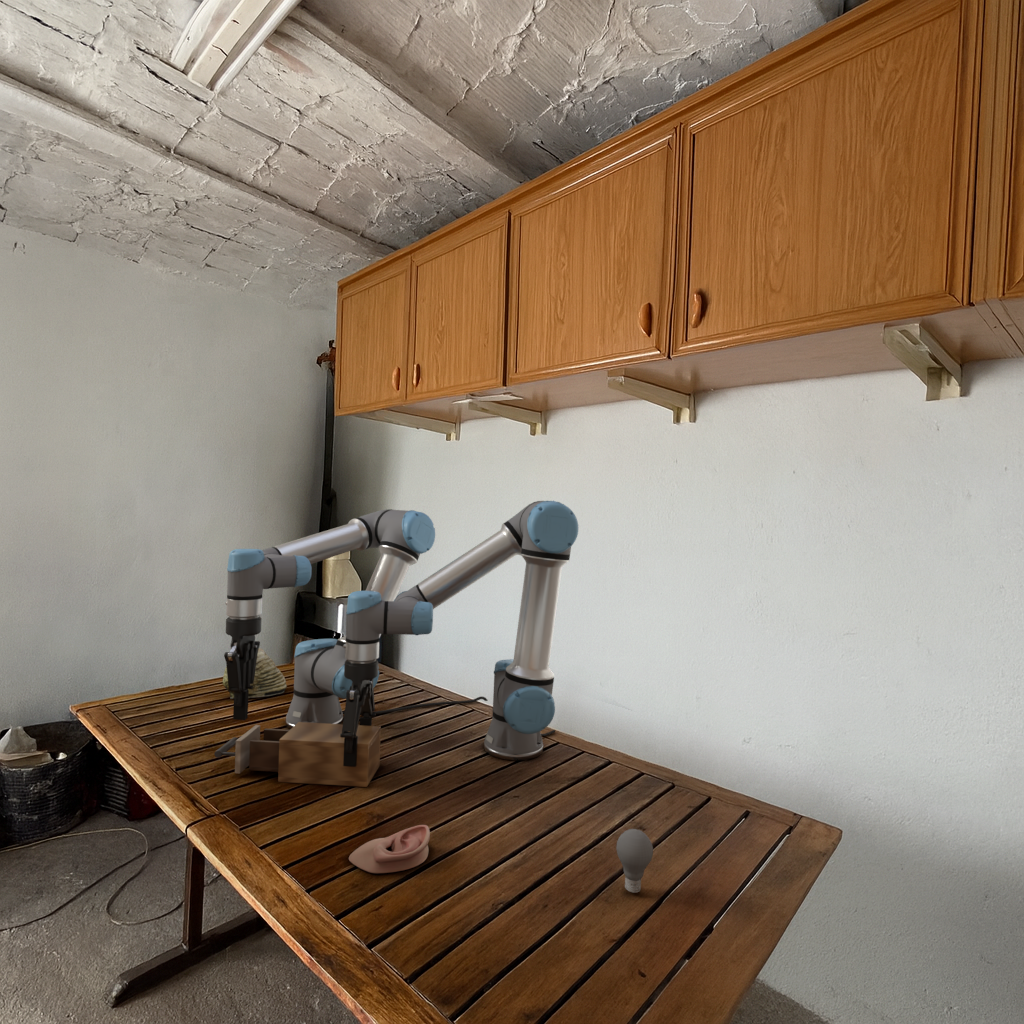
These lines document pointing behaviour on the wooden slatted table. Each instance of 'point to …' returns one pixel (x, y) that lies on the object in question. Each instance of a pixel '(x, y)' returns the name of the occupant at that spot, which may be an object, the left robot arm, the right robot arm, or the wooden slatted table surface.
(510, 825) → the wooden slatted table surface
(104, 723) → the wooden slatted table surface
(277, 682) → the fossil
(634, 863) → the light bulb
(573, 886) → the wooden slatted table surface
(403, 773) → the wooden slatted table surface
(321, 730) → the cabinet
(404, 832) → the anatomical model
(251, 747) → the drawer
